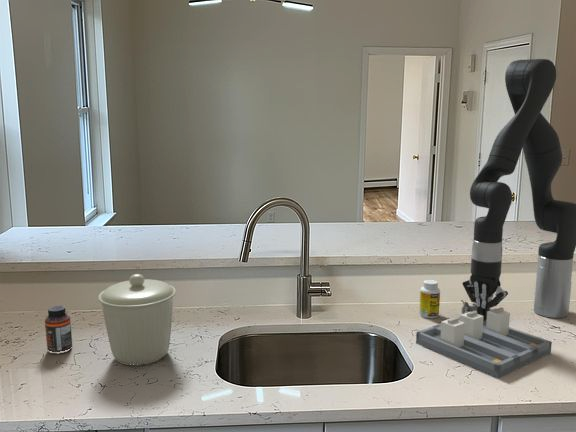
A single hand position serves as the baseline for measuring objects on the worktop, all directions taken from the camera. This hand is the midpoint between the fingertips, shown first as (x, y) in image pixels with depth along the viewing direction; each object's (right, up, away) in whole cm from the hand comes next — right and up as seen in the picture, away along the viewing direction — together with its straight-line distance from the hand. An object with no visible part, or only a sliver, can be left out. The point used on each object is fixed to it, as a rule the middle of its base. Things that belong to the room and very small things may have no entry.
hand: (482, 319), depth 154 cm
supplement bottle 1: (-109, -6, -8) cm, 110 cm away
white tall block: (-5, -4, -6) cm, 8 cm away
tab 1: (-11, -4, -10) cm, 15 cm away
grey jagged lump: (+3, -2, +12) cm, 13 cm away
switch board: (-3, -6, -8) cm, 10 cm away
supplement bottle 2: (-11, -1, +14) cm, 18 cm away
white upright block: (+3, -3, -3) cm, 5 cm away
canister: (-88, -7, -12) cm, 89 cm away
